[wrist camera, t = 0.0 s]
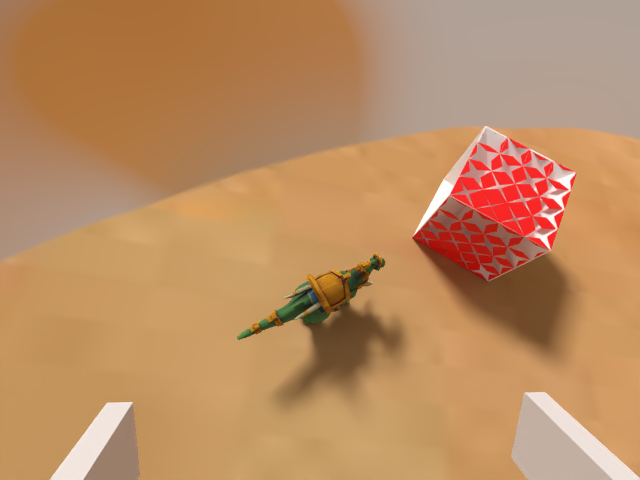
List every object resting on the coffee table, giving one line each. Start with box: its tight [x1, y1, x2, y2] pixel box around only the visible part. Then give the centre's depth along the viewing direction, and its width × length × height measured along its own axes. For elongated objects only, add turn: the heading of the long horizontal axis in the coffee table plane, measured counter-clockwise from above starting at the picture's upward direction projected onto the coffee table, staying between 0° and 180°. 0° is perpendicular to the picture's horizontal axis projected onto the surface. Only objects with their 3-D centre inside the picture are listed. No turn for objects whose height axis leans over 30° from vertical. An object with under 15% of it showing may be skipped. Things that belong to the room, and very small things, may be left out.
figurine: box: [237, 254, 385, 340], centre depth 24 cm, size 3×12×8 cm, turn 120°
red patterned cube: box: [412, 126, 577, 282], centre depth 29 cm, size 8×8×8 cm
